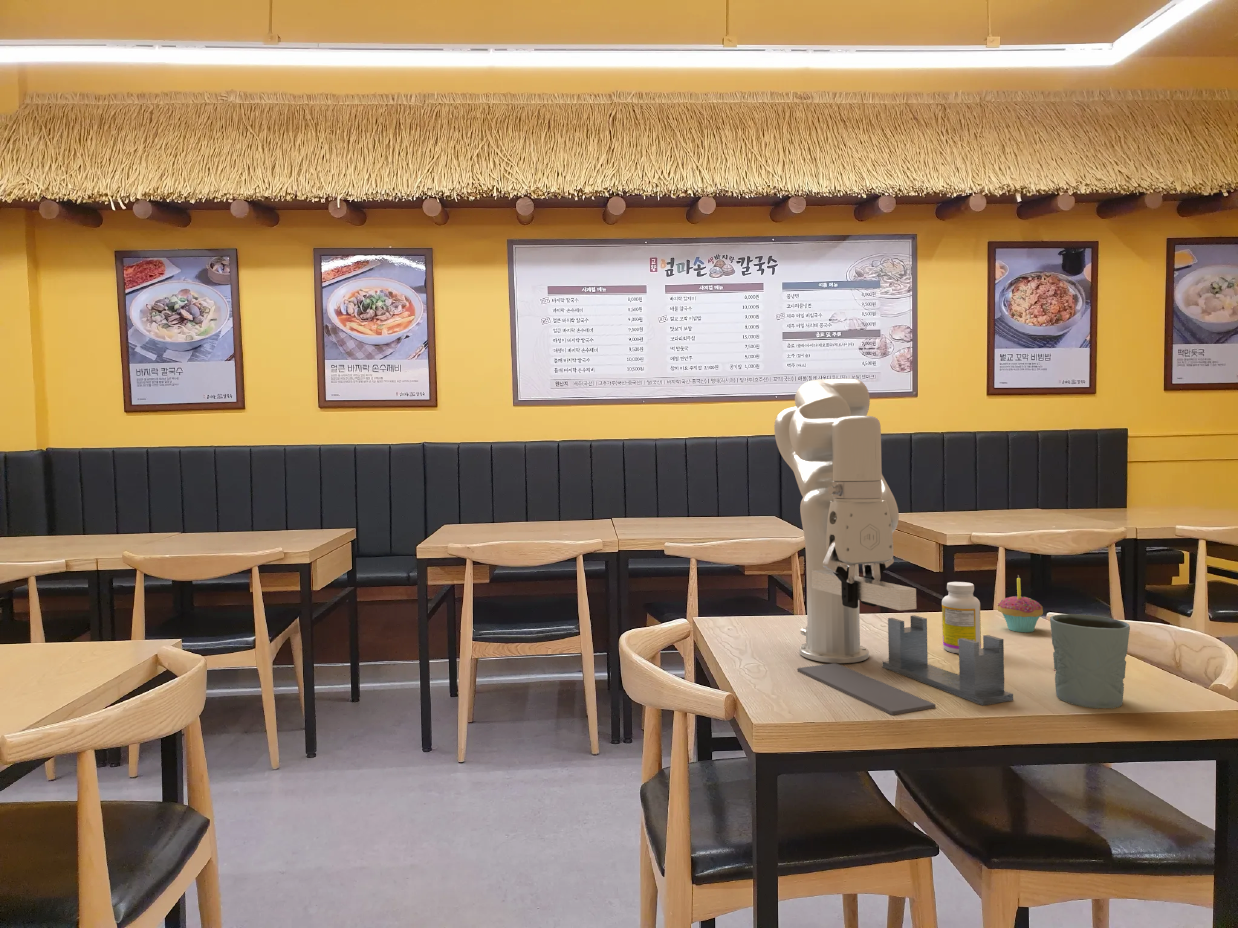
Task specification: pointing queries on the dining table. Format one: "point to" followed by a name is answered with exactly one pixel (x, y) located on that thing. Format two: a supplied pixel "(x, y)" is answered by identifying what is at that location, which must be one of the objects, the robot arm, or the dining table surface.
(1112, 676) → the green planter pot
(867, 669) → the dining table surface
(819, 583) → the rail
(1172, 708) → the dining table surface
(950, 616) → the supplement bottle
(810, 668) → the mat
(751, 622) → the dining table surface
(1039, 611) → the cupcake
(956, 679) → the rack
